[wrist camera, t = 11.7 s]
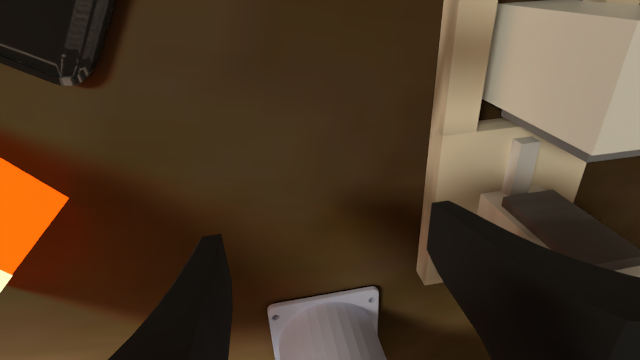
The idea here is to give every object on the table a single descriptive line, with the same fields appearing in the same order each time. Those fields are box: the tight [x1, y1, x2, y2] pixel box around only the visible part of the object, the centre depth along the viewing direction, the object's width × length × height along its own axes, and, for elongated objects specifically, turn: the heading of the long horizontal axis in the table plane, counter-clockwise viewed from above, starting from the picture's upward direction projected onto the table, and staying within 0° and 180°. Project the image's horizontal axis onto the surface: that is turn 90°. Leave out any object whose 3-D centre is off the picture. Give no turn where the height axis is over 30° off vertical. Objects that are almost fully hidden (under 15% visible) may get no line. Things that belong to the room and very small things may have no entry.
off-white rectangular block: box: [482, 0, 640, 163], centre depth 18 cm, size 6×4×8 cm
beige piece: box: [416, 0, 640, 285], centre depth 19 cm, size 20×10×10 cm, turn 3°
